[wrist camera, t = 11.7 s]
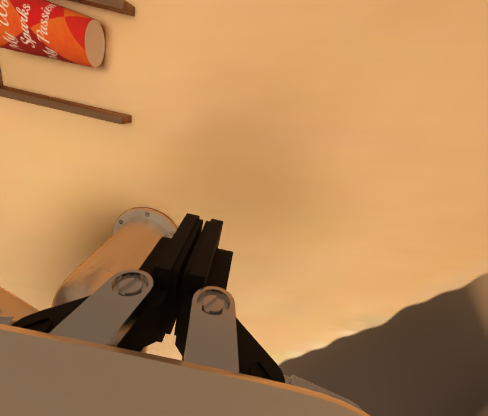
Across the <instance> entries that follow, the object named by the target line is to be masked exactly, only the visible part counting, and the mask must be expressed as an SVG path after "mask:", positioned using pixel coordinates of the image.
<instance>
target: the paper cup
mask: <svg viewBox="0 0 488 416" xmlns="http://www.w3.org/2000/svg"><path fill="white" fill-rule="evenodd" d="M0 48H6V49H10V50H15V51H19V52H24V53H29V54H34V55H38V56H43V57H48V58H52V59H57V60H61V61H66V62H71V63H75V64H80V65H85V66H90V67H98V66H100V64H101V63H102V61H103V58H104V54H105V37H104V32H103V29H102V27H101V25H100V23H99V22H98V21H97V20H95V19H93V18H90V17H88V16H85V15H83V14H80V13H78V12H75V11H72V10H70V9H67V8H64V7H62V6H59V5H56V4H54V3H51V2H48V1H46V0H0Z"/></svg>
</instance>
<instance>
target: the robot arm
mask: <svg viewBox="0 0 488 416" xmlns="http://www.w3.org/2000/svg"><path fill="white" fill-rule="evenodd" d="M202 225H203V220H201V219H199V216H197V215H193V214H188V213H187V214H186V216H185V218H184V219H183V221H182V222H181V224H180V226H179V227H178V229H177V228H176V226H175V225H174V223H173V222H172V221H171V220H170V219H169V218H168V217H167V216H165V215H164V214H162V213H161V212H158V211H156V210H153V209H150V208H134V209H130V210H128V211H126V212H124V213H123V214H122V215H121V216H120V217H119V218H118V219H117V220H116V222H115V224H114V227H113V235H112V236H111V237H110V238H109V239H108V240H107V241H106V242H105V243H104V244H103V245H102V246H101V247H100V248H99V249H98V250H97V251H95V252H94V253H93V254H92V255H91V256H90V257H89V258H88V259H87V260H86V261H85V262H84V263H83V264H82V265H81V266H80V267H78V268H77V269H76V270H75V271H74V272H73V273H72V274H71V275H70V276H69V277H68V278H67V279H66V280H65V281H64V282H63V283H62V284H61V286H60V287H59V289H58V290H57V292H56V294H55V297H54V299H53V303H52V307H51V308H49V309H45V310H42V311H39V310H37V309H36V308H34V307H32V306H31V305H29V304H28V303H26V302H24V301H23V300H21V299H20V298H18V297H16V296H15V295H13V294H12V293H10V292H8V291H6V290H5V289H3V288H1V287H0V416H370V415H368V414H366V413H365V412H363V411H362V409H361V408H360V407H359V406H358V405H356V404H355V403H353V402H351V401H350V400H347V399H346V398H343V397H341V396H339V395H337V394H334V393H332V392H330V391H328V390H326V389H323V388H321V387H319V386H317V385H314V384H312V383H310V382H308V381H306V380H304V379H301V378H299V377H297V376H295V375H292V376H291V378H290V377H288V376H286V375H283V373H282V371H281V369H280V368H279V366H278V365H277V364H276V363H275V361H274V360H273V359H272V358H271V357H270V356H269V355H268V353H267V352H266V351H265V350H264V349H263V348H262V347H261V346H260V344H259V343H258V342H257V341H256V340H255V339H254V338H253V336H252V335H251V334H250V333H249V332H248V331H247V330H246V328H245V327H244V326H243V325H242V324H241V323H240V322H239V320H238V319H237V318H236V313H235V302H234V298H233V297H232V295H231V294H230V293H229V292H228V291H226V288H227V282H228V277H229V271H230V266H231V261H232V255H233V252H231V251H227V250H222V249H218V245H219V240H220V235H221V230H222V225H223V221H220V220H215V219H211V221H206V223H205V225H204V227H203V230H202ZM201 231H202V232H201ZM176 318H177V319H176ZM175 321H176V326H175V333H174V335H176V342H175V345H176V347H177V348H178V350H179V352H180V353H181V355H182V361H181V360H176V359H171V358H166V357H161V356H157V355H152V354H147V353H146V351H147V349H148V345H150V344H152V343H154V342H156V341H157V342H162V341H163V338H164V336H165V333H166V334H171V331H172V329H173V326H174V324H175Z"/></svg>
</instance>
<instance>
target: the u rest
mask: <svg viewBox="0 0 488 416" xmlns="http://www.w3.org/2000/svg"><path fill="white" fill-rule="evenodd" d="M70 1H74V2H78V3H82V4H87V5H91V6H95V7H99V8H103V9H107V10H111V11H115V12H119V13H123V14H127V15H131V16H134V13H135V7H134V6H132V5H131V4H129V3H128V2H126V1H125V0H70ZM0 96H2V97H6V98H11V99H15V100H19V101H24V102H28V103H32V104H36V105H41V106H45V107H49V108H54V109H58V110H62V111H67V112H71V113H75V114H79V115H84V116H88V117H92V118H97V119H101V120H105V121H110V122H114V123H118V124H125V123H130V122H131V116H130V115H126V114H122V113H118V112H113V111H109V110H105V109H101V108H96V107H92V106H88V105H83V104H79V103H75V102H71V101H66V100H62V99H58V98H53V97H49V96H45V95H41V94H36V93H32V92H28V91H23V90H19V89H15V88H11V87H6V86H3V83H2V77H1V70H0Z"/></svg>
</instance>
